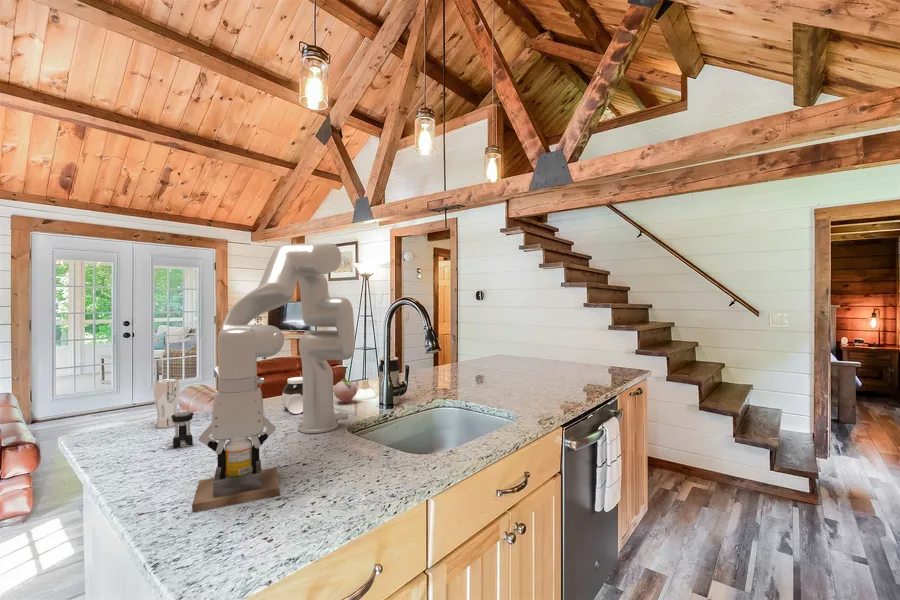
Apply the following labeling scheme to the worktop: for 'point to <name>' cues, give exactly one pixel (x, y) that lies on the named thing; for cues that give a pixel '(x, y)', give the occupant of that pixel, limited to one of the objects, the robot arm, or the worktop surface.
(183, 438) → the push button
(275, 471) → the collar board
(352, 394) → the decorative fruit
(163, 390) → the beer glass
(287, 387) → the spread jar
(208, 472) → the worktop surface
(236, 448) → the supplement bottle
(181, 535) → the worktop surface
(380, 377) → the travel mug
